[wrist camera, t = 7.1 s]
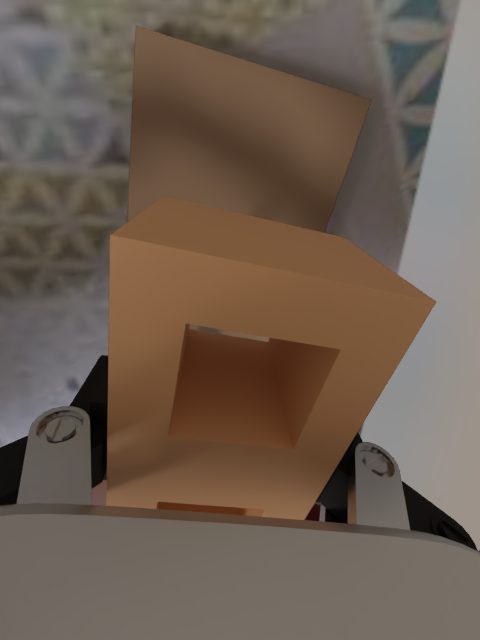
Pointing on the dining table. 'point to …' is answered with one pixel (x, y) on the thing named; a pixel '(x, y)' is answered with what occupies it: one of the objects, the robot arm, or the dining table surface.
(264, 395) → the block with square holes
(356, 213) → the dining table surface
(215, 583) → the robot arm
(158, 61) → the locating board
